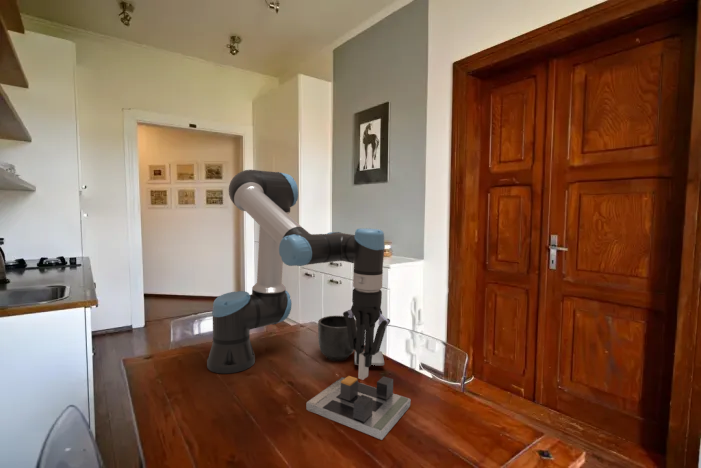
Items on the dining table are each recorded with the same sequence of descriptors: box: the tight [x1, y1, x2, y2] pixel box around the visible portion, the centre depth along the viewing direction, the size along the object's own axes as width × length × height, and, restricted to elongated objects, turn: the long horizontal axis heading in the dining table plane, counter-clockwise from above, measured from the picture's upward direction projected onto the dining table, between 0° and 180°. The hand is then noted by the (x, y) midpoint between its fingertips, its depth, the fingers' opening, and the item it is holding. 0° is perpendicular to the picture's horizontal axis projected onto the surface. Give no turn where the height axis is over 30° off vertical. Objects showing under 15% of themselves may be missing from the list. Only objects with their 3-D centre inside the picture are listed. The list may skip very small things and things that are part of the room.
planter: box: [317, 315, 357, 362], centre depth 127 cm, size 14×14×13 cm
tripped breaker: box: [340, 375, 359, 401], centre depth 96 cm, size 3×4×4 cm
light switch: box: [353, 350, 385, 367], centre depth 121 cm, size 10×10×5 cm
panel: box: [305, 376, 412, 441], centre depth 94 cm, size 22×17×6 cm
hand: (363, 377), depth 94 cm, fingers closed
